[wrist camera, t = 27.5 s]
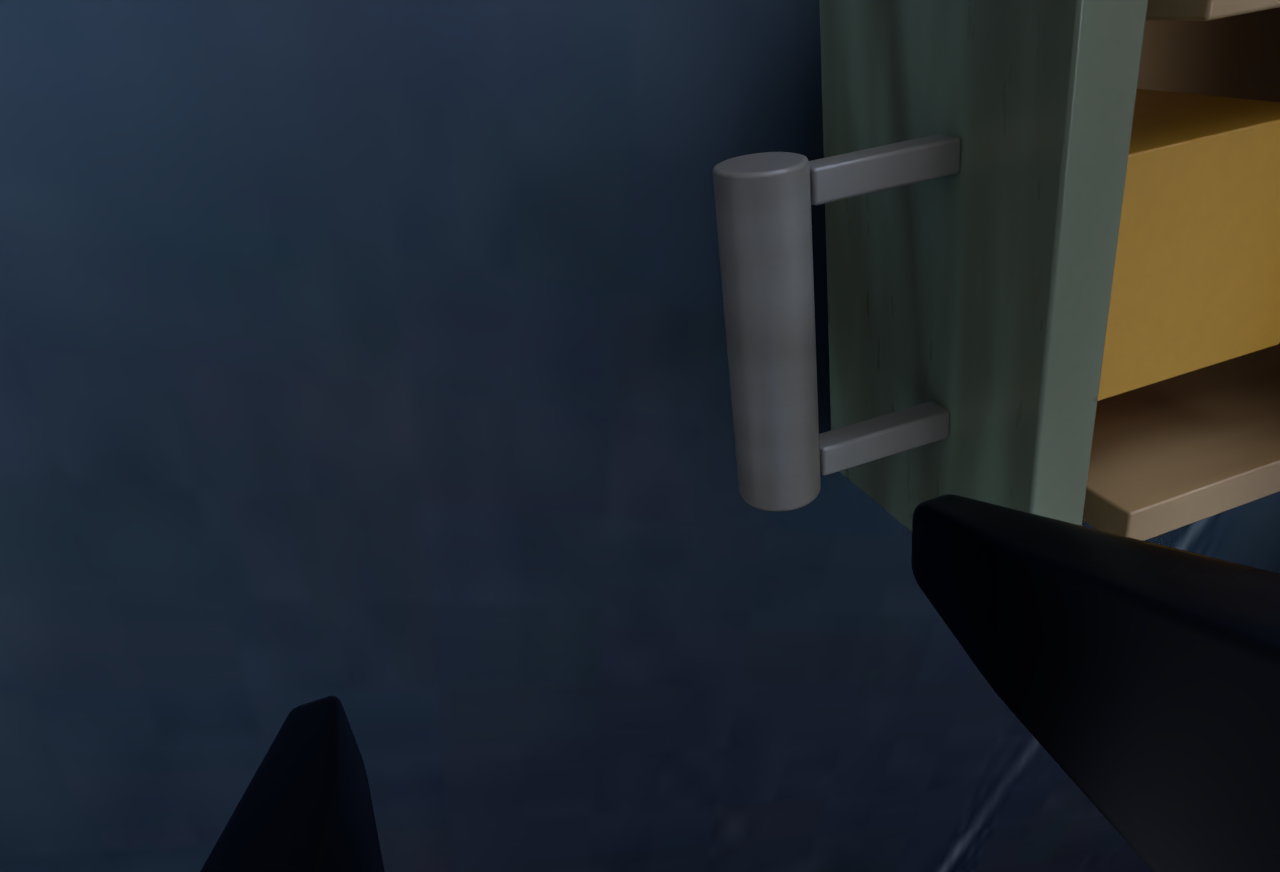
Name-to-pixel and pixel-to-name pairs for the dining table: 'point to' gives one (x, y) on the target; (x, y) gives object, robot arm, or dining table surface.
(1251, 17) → the drawer
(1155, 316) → the block
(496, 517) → the dining table surface
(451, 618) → the dining table surface
